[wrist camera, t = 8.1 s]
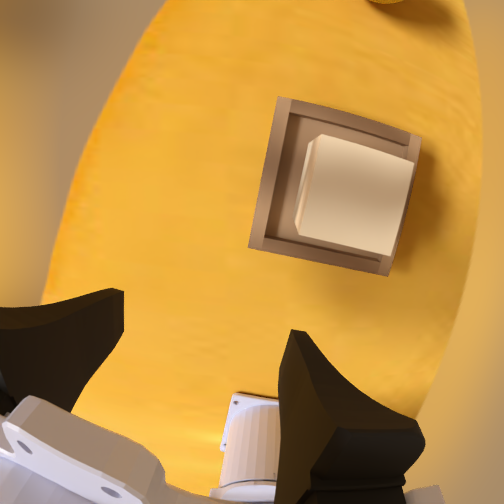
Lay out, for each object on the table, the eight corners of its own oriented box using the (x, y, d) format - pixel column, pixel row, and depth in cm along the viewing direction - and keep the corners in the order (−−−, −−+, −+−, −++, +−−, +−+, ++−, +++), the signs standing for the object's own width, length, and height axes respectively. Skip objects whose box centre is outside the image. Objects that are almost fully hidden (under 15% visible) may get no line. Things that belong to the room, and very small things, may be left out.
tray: (373, 261, 21) (388, 276, 18) (251, 235, 21) (247, 247, 18) (401, 140, 18) (421, 137, 15) (277, 107, 18) (277, 96, 15)
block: (362, 233, 18) (390, 256, 13) (292, 216, 18) (298, 234, 13) (379, 162, 17) (414, 163, 12) (308, 143, 17) (321, 134, 12)
